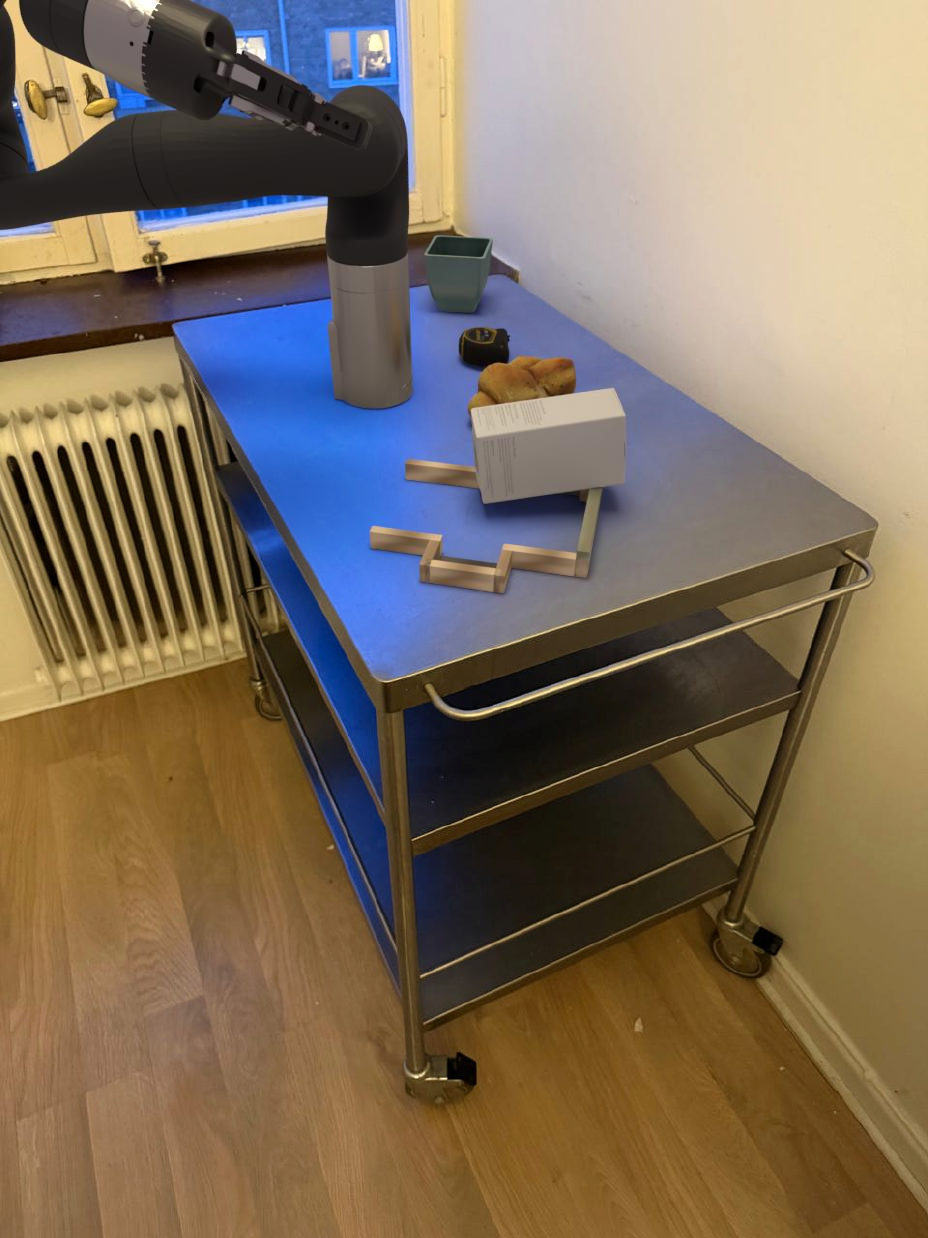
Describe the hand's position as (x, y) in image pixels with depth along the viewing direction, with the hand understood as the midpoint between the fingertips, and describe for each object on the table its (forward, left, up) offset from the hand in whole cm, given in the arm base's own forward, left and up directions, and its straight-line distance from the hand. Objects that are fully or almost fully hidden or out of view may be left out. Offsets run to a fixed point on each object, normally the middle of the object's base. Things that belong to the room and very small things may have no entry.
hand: (367, 137), depth 69 cm
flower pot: (-5, +54, -35) cm, 65 cm away
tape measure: (+3, +37, -35) cm, 51 cm away
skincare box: (+9, +2, -29) cm, 30 cm away
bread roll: (+10, +22, -35) cm, 43 cm away
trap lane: (+11, +1, -35) cm, 36 cm away
